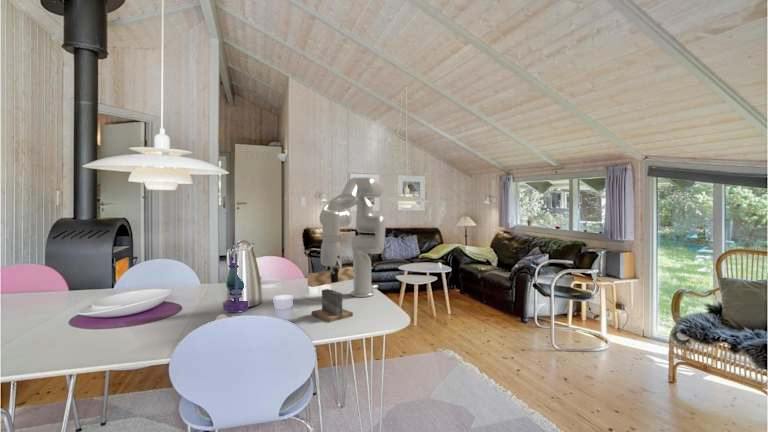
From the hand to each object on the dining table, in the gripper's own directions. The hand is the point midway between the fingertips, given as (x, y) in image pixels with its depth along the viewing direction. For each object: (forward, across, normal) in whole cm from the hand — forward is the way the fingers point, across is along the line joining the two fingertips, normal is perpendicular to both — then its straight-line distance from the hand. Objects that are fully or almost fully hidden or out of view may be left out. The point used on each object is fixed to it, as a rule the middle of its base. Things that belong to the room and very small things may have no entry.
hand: (331, 281), depth 166 cm
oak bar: (0, 0, 0) cm, 0 cm away
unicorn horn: (+16, -10, -38) cm, 43 cm away
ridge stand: (+15, 0, 0) cm, 15 cm away
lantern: (+15, -37, -27) cm, 48 cm away
